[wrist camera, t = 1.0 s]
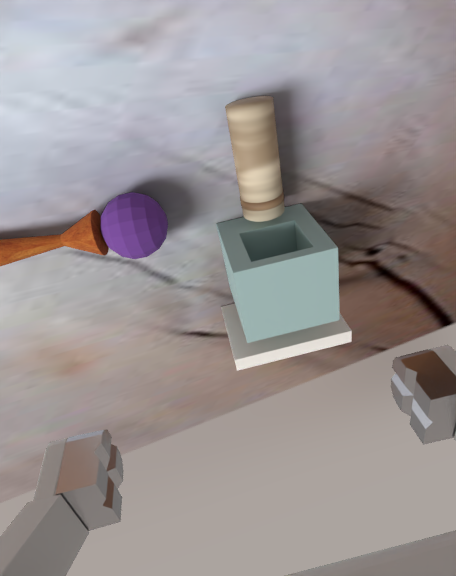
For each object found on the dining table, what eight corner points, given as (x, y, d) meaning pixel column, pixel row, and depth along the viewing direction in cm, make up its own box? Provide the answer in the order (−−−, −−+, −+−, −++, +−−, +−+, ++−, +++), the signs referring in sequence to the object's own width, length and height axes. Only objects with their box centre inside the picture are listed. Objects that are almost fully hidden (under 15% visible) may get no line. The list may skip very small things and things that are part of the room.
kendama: (-81, 240, 34) (154, 193, 33) (-41, 222, 39) (161, 181, 39) (-48, 303, 36) (171, 260, 36) (-15, 278, 42) (176, 240, 41)
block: (216, 223, 41) (233, 273, 33) (301, 203, 42) (337, 247, 34) (229, 286, 46) (247, 343, 38) (306, 267, 46) (339, 320, 38)
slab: (221, 306, 47) (234, 360, 40) (319, 282, 48) (351, 330, 40) (223, 316, 48) (237, 370, 41) (320, 292, 49) (351, 341, 41)
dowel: (220, 104, 35) (231, 112, 32) (264, 93, 36) (280, 100, 32) (238, 209, 41) (249, 226, 37) (276, 199, 41) (291, 214, 38)
